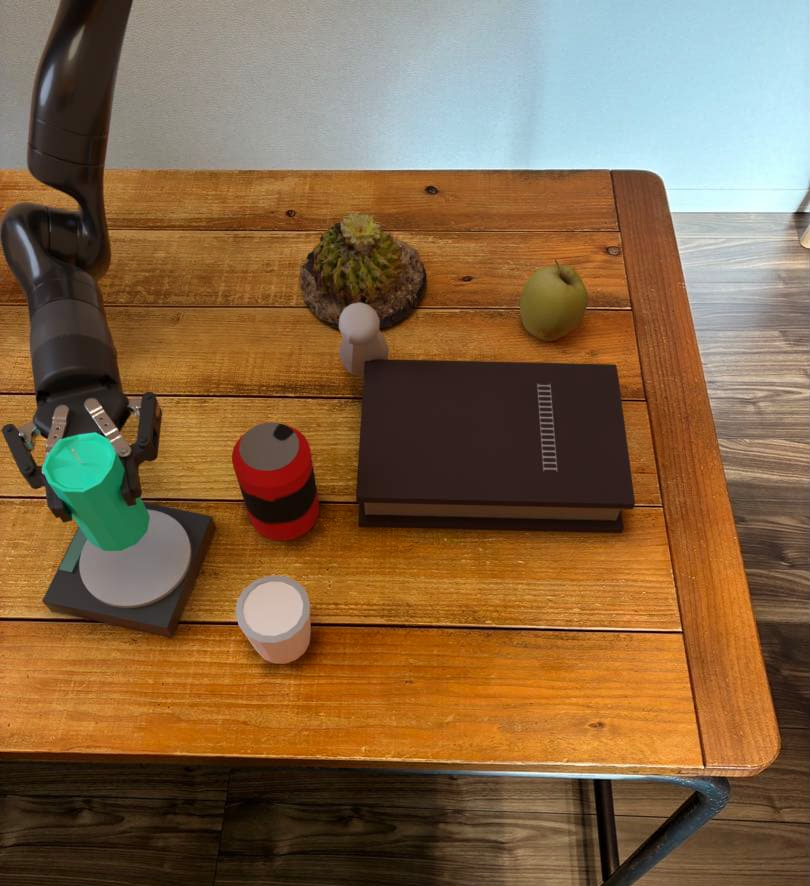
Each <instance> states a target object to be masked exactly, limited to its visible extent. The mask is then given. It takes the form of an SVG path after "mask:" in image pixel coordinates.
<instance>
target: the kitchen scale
mask: <svg viewBox="0 0 810 886" xmlns="http://www.w3.org/2000/svg"><path fill="white" fill-rule="evenodd" d="M142 502H143V503H144V505H145V507H146V510H147V512H148V514H149V516H150V520H149V525H148V531H147V532H146V534H145V535H144V536H143V537H142V538H141V539H140V541H139V542H138V543H137V544H135V545H133V546H131V547H129V548H126V549H124V550H122V551H103V550H101V549H100V548H98V547H96V546H94V545H93V544H91V543H90V542H89V540H88V539H87V537H86V536H85V534H84V533H83V532H82V530H81V529H80V527H79V526H78V527H77V528H76V531H75V533H74V534H73V537H72V539H71V541H70V544H69V545H68V547H67V549H66V551H65V553H64V556H63V557H62V559H61V562H60V564H59V566H58V568H57V570H56V571H55V573H54V576H53V578H52V580H51V582H50V584H49V586H48V588H47V590H46V592H45V594H44V596H43V598H42V600H41V601H42V603H43V604H44V605H45V606H46V607H47V609H48V610H49V611H50V612H54V613H58V614H62V615H67V616H71V617H76V618H81V619H85V620H90V621H94V622H99V623H103V624H106V625H107V624H108V625H112V626H116V627H122V628H125V629H126V628H127V629H131V630H135V631H140V632H144V633H149V634H153V635H158V636H163V637H166V638H167V637H168V638H172V639H173V638H174V636H175V634H176V631H177V629H178V626H179V623H180V620H181V619H182V616H183V613H184V610H185V608H186V606H187V603H188V601H189V598H190V595H191V593H192V591H193V588H194V585H195V582H196V580H197V578H198V575H199V572H200V570H201V567H202V565H203V562H204V560H205V557H206V556H207V552H208V551H209V550H208V549H209V547H210V545H211V542H212V539H213V537H214V535H215V532H216V529H217V526H216V523H215V521H214V518H213V516H212V515H209V514H204V513H199V512H193V511H189V510H188V511H187V510H184V509H179V508H173V507H168V506H163V505H158V504H154V503H149V502H144V501H142Z"/></svg>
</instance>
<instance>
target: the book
mask: <svg viewBox="0 0 810 886" xmlns="http://www.w3.org/2000/svg"><path fill="white" fill-rule="evenodd" d="M617 367H618V366H617V364H614V363H612V364H611V363H575V362H574V363H572V362H571V363H570V362H569V363H567V362H565V363H564V362H529V361H528V362H526V361H525V362H524V361H523V362H521V361H484V360H483V361H481V360H479V361H478V360H473V361H472V360H440V359H439V360H435V359H433V360H431V359H394V358H391V359H390V358H388V359H374V360H371V361H365V363H364V377H362V379H363V381H362V393H361V396H362V397H361V413H360V427H359V440H358V441H359V444H358V459H357V474H356V475H357V476H356V491H355V499H356V500H355V502H356V503H358V516H357V517H358V519H357V525H358V528H383V529H384V528H386V529H387V528H388V529H422V530H423V529H427V530H429V529H430V530H468V531H469V530H470V531H471V530H472V531H509V532H510V531H512V532H550V533H551V532H553V533H555V532H556V533H591V534H592V533H597V534H598V533H599V534H600V533H601V534H622V533H623V531H624V522H623V513H622V510H633V509H634V508H635V506H636V499H635V494H634V493H635V492H634V491H635V490H634V485H633V477H632V469H631V461H630V454H629V447H628V439H627V431H626V425H625V424H626V423H625V417H624V409H623V403H622V395H621V387H620V386H621V385H620V379H619V378H620V377H619V374H618V373H619V372H618V368H617Z"/></svg>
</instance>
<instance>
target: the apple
mask: <svg viewBox="0 0 810 886" xmlns="http://www.w3.org/2000/svg"><path fill="white" fill-rule="evenodd" d="M554 262H555V264H550V265H545V266H542V267H540V268H538V269H537V270H535V272H533V273H532V274H531V275H530V276H529V277H528V279H527V280H526V281H525V283H524V285H523V287H522V290H521V293H520V299H519V312H520V317H521V321H522V325H523V327H524V329H525V330H526V331H527V332H529V333H530V334H531V335H532V336H534V337H535V338H538V339H539V340H541V341H544V342H554V341H556V340H559V339H561V338H563V337H564V336H566V335H567V334H569V333H570V332H571V331H573V330H574V329H575V328H576V327H577V326H578V325H579V324H580V322H581V321H582V319H583V317H584V316H585V314H586V312H587V309H588V304H589V293H588V289H587V287H586V285H585V284H584V282H583V279H582V277H581V276H580V275H579V273H578V272H577V271H576V270H575V269H574V268H572V267H571V266H568V265H567V264H566V265H565V264H560V263H559V262H558V261H557V260H556V259H554Z"/></svg>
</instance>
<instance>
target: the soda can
mask: <svg viewBox="0 0 810 886" xmlns="http://www.w3.org/2000/svg"><path fill="white" fill-rule="evenodd" d="M231 463H232V467H233V470H234V473H235V477H236V480H237V483H238V485H239V490H240V494H241V496H242V498H243V502H244V505H245V508H246V512H247V515H248V518H249V521H250V523H251V525H252V527H253V528H254V529H255V531H256V532H258V533H259V535H261V536H263V537H265V538H267V539H271V540H274V541H290V540H293V539H297V538H299V537H301V536H303V535H305V534H306V533H307V532H309V531H310V530H311V529H312V528H313V527H314V525H315V524H316V523H317V520H318V519H319V515H320V500H319V493H318V488H317V482H316V476H315V470H314V464H313V458H312V452H311V446H310V443H309V441H308V439H307V438H306V436H305V435H304V433H302V432H301V431H300V430H298V429H297V428H295V427H293V426H292V425H288V424H284V423H280V422H276V421H275V422H274V421H269V422H262V423H259V424H257V425H254V426H253V427H251V428H249V429H248V430H247V431H246V432H245V433H243V434H242V435H241V436H240V437H239V438H238V439H237V441H236V442H235V445H234V446H233V449H232V453H231Z"/></svg>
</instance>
